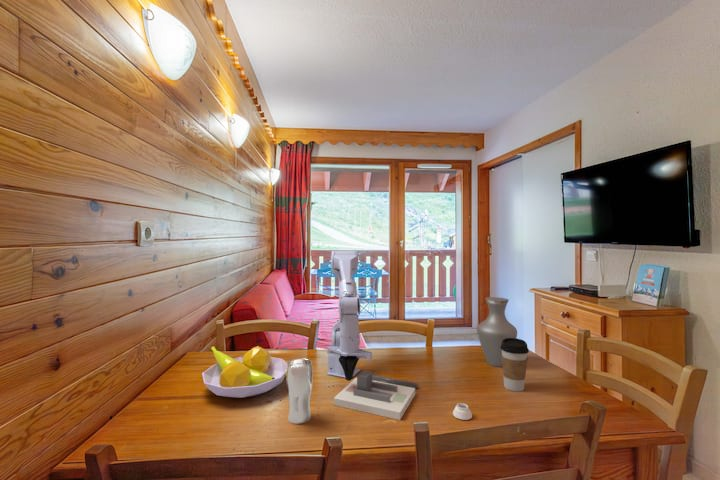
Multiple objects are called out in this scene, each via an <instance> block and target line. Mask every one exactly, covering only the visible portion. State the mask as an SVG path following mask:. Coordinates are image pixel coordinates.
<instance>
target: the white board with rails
mask: <svg viewBox="0 0 720 480" xmlns="http://www.w3.org/2000/svg"><path fill="white" fill-rule="evenodd" d="M418 388H419V384H418V383H417V382H413V381H407V380H401V379H396V378H391V377H386V376H385V377H384V376H379V375H373V374H372V389H371V390H370V391H369V392H368V391H363V390H358V389H357V376H356V377H355V378H353V379H352V381H350V382H349V384H347V385H346V386H345V387H344V388H343V389H342V390H341V391H340V392H339V393H338V394H337V395H335V396H334V397H333V405H334V406H337V407H341V408H346V409H350V410H354V411H357V412H358V411H360V412H363V413H367V414H371V415H376V416H381V417H384V418H388V419H389V418H390V419H393V420H399V421H401V419H402V417H403V415H404V414H405V413H406V410H407V409H408V408H409V406H410V404H411V403H412V401H413V399H414V397H415V396H416V389H418Z"/></svg>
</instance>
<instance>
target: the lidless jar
mask: <svg viewBox="0 0 720 480" xmlns="http://www.w3.org/2000/svg"><path fill="white" fill-rule="evenodd" d="M452 415H453V417H455V418H456V419H458V420H462V421H468V420H470V419H472V418H473V414H472V411H471V409H470V408H469V405H468V404H466V403H462V402H458V403H457V404H456V405H455V407H454V409H453V411H452Z"/></svg>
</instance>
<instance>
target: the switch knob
mask: <svg viewBox="0 0 720 480" xmlns="http://www.w3.org/2000/svg"><path fill="white" fill-rule="evenodd" d="M372 375H373V371H371V370H366V369H365V370H362V371H360V373H358V374H357V375H356V377H357V389H358V390H363V391H368V392H369V391H370V390H371V389H372Z"/></svg>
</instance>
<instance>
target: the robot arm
mask: <svg viewBox="0 0 720 480" xmlns="http://www.w3.org/2000/svg"><path fill="white" fill-rule="evenodd" d="M330 255H331V257H330V259H331V261H330V262H331V272H332V275H334V276H336V278H337V280H338V315H339V317H338V319H339V320H338V321H336V322H335V323H334V324H333V325H332V327H331V345H329V346H328V347H326V353H327V372H326V374H327V375H328V376H332V377H333V376H334V377H339V378H345V380H346V381H349V382H351V380H354V376H357V375H358V374H359V372H361V371H360V370H361V369H359V368H357V364H358V362H359V360H360V359H365V360H367V361H371V360H372V359H373V351H368V350H365V349H361V348H359V346H360V344H361V343H360V342H361V339H360V338H361V335H360V328H359V316H360V314H361V300H360V295H359V294H358V289H357V282H356V281H355V280H354V279H353V276H354V275H356V274H357V271H358V266H359V251H358V250H332V251H331V253H330Z"/></svg>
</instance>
